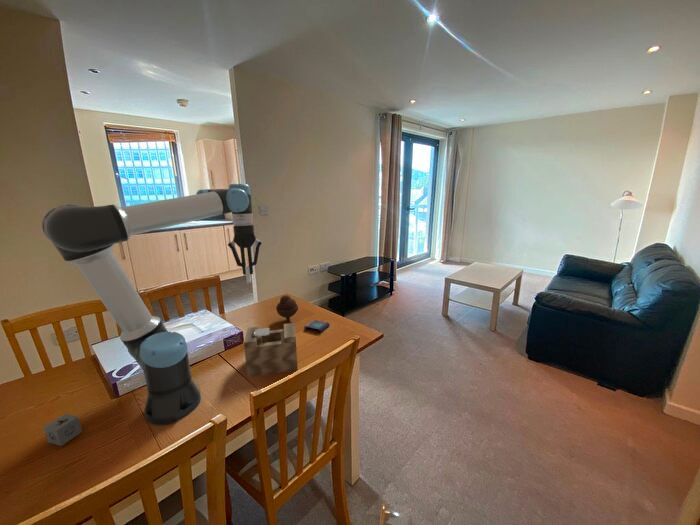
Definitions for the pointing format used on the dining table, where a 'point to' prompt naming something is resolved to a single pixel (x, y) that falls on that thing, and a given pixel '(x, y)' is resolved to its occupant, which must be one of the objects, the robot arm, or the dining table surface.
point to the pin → (394, 517)
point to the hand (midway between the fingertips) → (249, 281)
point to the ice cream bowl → (287, 307)
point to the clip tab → (260, 332)
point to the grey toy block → (62, 429)
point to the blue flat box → (317, 325)
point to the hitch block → (271, 351)
